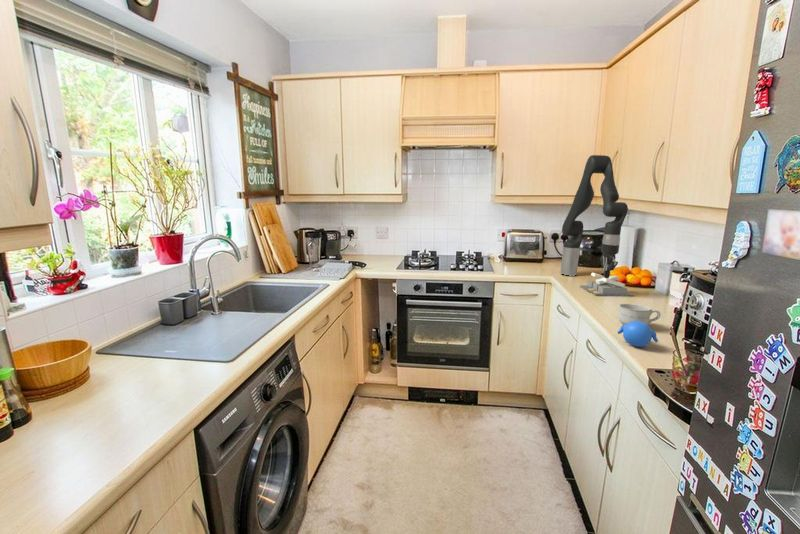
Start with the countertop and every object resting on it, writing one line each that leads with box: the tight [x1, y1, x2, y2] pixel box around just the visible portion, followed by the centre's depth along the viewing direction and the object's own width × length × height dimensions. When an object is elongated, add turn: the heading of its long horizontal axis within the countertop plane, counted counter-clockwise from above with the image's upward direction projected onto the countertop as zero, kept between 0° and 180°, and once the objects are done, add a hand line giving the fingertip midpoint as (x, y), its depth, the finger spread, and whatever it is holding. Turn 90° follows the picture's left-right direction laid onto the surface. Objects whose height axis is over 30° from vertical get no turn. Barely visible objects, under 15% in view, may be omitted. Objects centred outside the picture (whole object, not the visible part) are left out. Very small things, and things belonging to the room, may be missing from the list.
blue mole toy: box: [617, 321, 659, 348], centre depth 133 cm, size 12×12×8 cm
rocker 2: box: [595, 275, 620, 284], centre depth 200 cm, size 4×10×2 cm, turn 91°
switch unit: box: [579, 279, 635, 297], centre depth 201 cm, size 17×19×5 cm
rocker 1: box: [590, 271, 604, 279], centre depth 205 cm, size 4×10×2 cm, turn 91°
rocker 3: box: [602, 277, 626, 287], centre depth 195 cm, size 4×10×2 cm, turn 91°
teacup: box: [617, 303, 662, 326], centre depth 150 cm, size 14×11×8 cm
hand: (606, 277), depth 194 cm, fingers closed
